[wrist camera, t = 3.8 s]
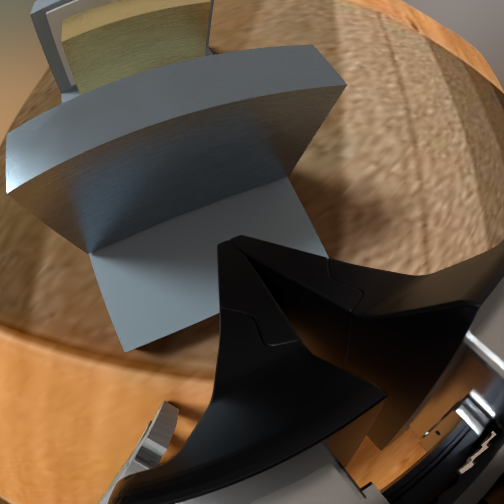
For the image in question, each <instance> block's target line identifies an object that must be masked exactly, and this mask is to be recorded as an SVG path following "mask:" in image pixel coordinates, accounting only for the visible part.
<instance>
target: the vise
mask: <svg viewBox="0 0 504 504" xmlns="http://www.w3.org/2000/svg"><path fill="white" fill-rule="evenodd" d="M114 1H117V0H38V1H36V2H35V3H34V6H33V8H32V11H31V18H32V21H33V24H34V27H35V29H36V32H37V35H38V38H39V40H40V43H41V46H42V48H43V51H44V54H45V56H46V59H47V61H48V63H49V66H50V68H51V71H52V73H53V75H54V78H55V80H56V82H57V85H58V87H59V89H60V91H61V93H62V103H64V102H66V101H69V100H71V99H73V98H75V97H77V96H80V93H79V90H78V88H77V85H76V82H75V80H74V77H73V74H72V72H71V69H70V66H69V63H68V61H67V58H66V55H65V52H64V49H63V46H62V43H61V37H62V22H63V20H64V19H67V18H69V17H71V16H74V15H76V14H79V13H82V12H84V11H87V10H90V9H92V8H95V7H98V6H101V5H104V4H107V3H111V2H114ZM210 1H211V6H210V14H209V23H208V31H207V41H206V51H205V56H210V55H213V53H212V52H211V50H210V49H209V47H208V44H209V35H210V27H211V19H212V11H213V4H214V0H210ZM239 235H245V236H248V237H252V238H256V239H260V240H264V241H267V242H271V243H275V244H279V245H283V246H286V247H290V248H294V249H298V250H301V251H305V252H309V253H312V254H316V255H320V256H324V257H327V258H329V257H328V255H327V253H326V251H325V249H324V247H323V245H322V243H321V241H320V239H319V237H318V235H317V233H316V231H315V229H314V227H313V225H312V223H311V221H310V219H309V217H308V215H307V213H306V211H305V209H304V207H303V205H302V203H301V201H300V200H299V198H298V196H297V194H296V192H295V190H294V188H293V186H292V185H291V183H290V181H289V179H288V177H285V178H282V179H278V180H275V181H272V182H269V183H267V184H264V185H261V186H258V187H255V188H252V189H249V190H246V191H243V192H240V193H238V194H235V195H232V196H229V197H226V198H224V199H221V200H218V201H216V202H213V203H210V204H207V205H205V206H202V207H200V208H197V209H194V210H192V211H189V212H186V213H184V214H181V215H179V216H176V217H174V218H171V219H169V220H166V221H164V222H161V223H159V224H156V225H154V226H151V227H149V228H147V229H144V230H142V231H139V232H137V233H135V234H132V235H130V236H128V237H125V238H123V239H121V240H118V241H116V242H114V243H111V244H109V245H107V246H105V247H102V248H100V249H98V250H96V251H94V252H91V253H89V256H90V259H91V262H92V266H93V269H94V272H95V275H96V278H97V281H98V284H99V287H100V290H101V293H102V296H103V299H104V301H105V304H106V307H107V310H108V312H109V315H110V317H111V320H112V322H113V325H114V327H115V330H116V332H117V335H118V337H119V340H120V342H121V344H122V347H123V349H124V351H125V352H128V351H130V350H133V349H135V348H138V347H140V346H143V345H145V344H147V343H150V342H152V341H155V340H157V339H160V338H162V337H164V336H167V335H169V334H172V333H174V332H176V331H179V330H181V329H183V328H186V327H188V326H190V325H193V324H195V323H197V322H200V321H202V320H204V319H206V318H209V317H211V316H213V315H216V314H218V313H219V310H220V309H219V289H218V265H217V244H219V243H221V242H224V241H226V240H229V241H230V239H231V238H234V237H236V236H239Z"/></svg>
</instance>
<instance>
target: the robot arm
mask: <svg viewBox="0 0 504 504" xmlns="http://www.w3.org/2000/svg"><path fill="white" fill-rule="evenodd" d="M217 265H218V289H219V309H220V310H219V313H220V337H219V349H218V357H217V365H216V373H215V381H214V388H213V393H212V398H211V401H210V404H209V406H208V408H207V409H206V411H205V413H204V414H203V416H202V417H201V419H200V421H199V422H198V424H197V425H196V427H195V429H194V430H193V432H192V433H191V435H190V436H189V438H188V439H187V441H186V443H185V444H184V446H183V447H182V448H181V450H180V451H179V452H178V453H177V454H176V455H175V456H174V457H173V458H171V459H170V460H168V461H167V462H165V463H163V464H162V465H159V466H157V467H154V468H151V469H147V470H144V471H140V472H136V473H133V474H130V475H128V476H125V477H123V478H122V479H120V480H119V481H118V482H117V483H116V485H115V487H114V489H113V491H112V493H111V495H110V498H109V501H108V504H504V239H503V240H502V242H501V243H500V244H498V245H497V246H495V247H494V248H492V249H490V250H488V251H486V252H484V253H482V254H480V255H477V256H475V257H472V258H470V259H468V260H465V261H463V262H460V263H458V264H455V265H453V266H450V267H448V268H445V269H443V270H440V271H437V272H435V273H432V274H428V275H421V276H414V275H407V274H401V273H396V272H390V271H385V270H380V269H374V268H369V267H364V266H359V265H355V264H351V263H347V262H342V261H339V260H335V259H331V258H327V257H324V256H320V255H316V254H312V253H309V252H305V251H301V250H298V249H294V248H290V247H286V246H283V245H279V244H275V243H271V242H267V241H264V240H260V239H256V238H252V237H248V236H245V235H239V236H236V237H234V238H231V239H230V241H229V240H226V241H224V242H221V243H219V244H217ZM409 428H410V429H411V430H412V431H413V432H414V434H415V435H416V436H417V437H418V438H419V439H420V440H421V441H420V442H419V443H420V445H421V446H422V447H423V448H424V449H425V451H426V452H427V453H426V454H425V455H424V456H422V457H421V458H420V459H419V460H418V461H417V462H416V463H414V464H413V465H412V466H411V467H410V468H409V469H407V470H406V471H405V472H404V473H402V474H401V475H400V476H399V477H397V478H396V479H395V480H394V481H392V482H391V483H390V484H388V485H387V486H386V487H384V488H383V489H382V490H380V491H379V490H378V489H377V488H376V486H375V485H374V484H373V483H372V482H369V483H368V484H366V485H365V486H363V487H361V488H359V486H358V485H357V484H356V482H355V481H354V480H353V479H352V477H351V476H350V475H349V473H348V472H347V471H346V469H345V467H346V466H347V464H348V463H349V461H350V460H351V458H352V457H353V455H354V454H355V452H356V451H357V449H358V447H359V446H360V444H361V443H362V441H363V440H364V438H365V436H366V435H367V436H368V437H369V438H370V439H371V440H372V441H373V443H374V444H375V445H376V446H377V447H378V448H379V449H380V450H383V449H384V448H385V447H387V446H388V445H389V444H391V443H392V442H393V441H394V440H396V439H397V438H398V437H399V436H401V435H402V434H403V433H404V432H405V431H407V430H408V429H409ZM492 431H494V432H495V433H496V434H497V435H496V436H494V437H493V438H492V439H491V440H490V441H489V442H488V444H487V446H488V448H487V449H486V450H485V451H484V452H482V453H481V454H480V455H479V456H477V457H476V458H475V459H474V460H473V463H474V466H472V467H471V468H470V469H468V470H467V471H465V472H464V473H462V474H461V473H460V471H459V470H460V469H461V468H462V467H464V466H465V465H467V464H468V463H469V462H470V461H471V456H473V455H474V454H475V453H477V452H478V451H479V450H480V449H481V448H482V446H481V445H482V444H483V443H484V442H485V441H486V440H488V439H489V438H490V437H491V435H492V434H491V432H492Z"/></svg>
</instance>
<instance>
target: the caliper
mask: <svg viewBox="0 0 504 504" xmlns="http://www.w3.org/2000/svg"><path fill="white" fill-rule="evenodd" d="M178 414H179V409H178V408H176V407H174V406H173V405H171V404H169V403H168V402H166V401H164V402H163V403H162V404H161V406H160V408H159V410H158V412H157V414H156V416H155V418H154V420H153V421H150V423H149V424H148V426H147V427H146V429H145V431H144V433H143V434H142V436H141V438H140V440H139V442H138V443H137V445H136V447H135V449H134V450H133V452H132V454H131V456H130V457H129V459H128V460H127V462H126V463H125V464H124V465H123V467H122V468H121V470H120V471H119V473H118V474H117V475H116V477H115V478H114V480H113V481H112V483H111V485H110V487H109V488H108V490H107V491H106V493H105V494H104V496H103V497H102V498H101V500H100V501H99V503H98V504H108V501H109V498H110V495H111V493H112V491H113V489H114V487H115V485H116V483H117V482H118V481H119V480H120V479H122V478H123V477H125V476H128V475H130V474H133V473H136V472H140V471H144V470H147V469H151V468H154V467H157V466H158V465H159V462H160V460H161V457H162V456H163V454H164V453H165V452H166V450H167V449H168V446H169V443H170V441H171V438H172V435H173V433H174V430H175V427H176V424H177V419H178Z"/></svg>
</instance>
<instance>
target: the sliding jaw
mask: <svg viewBox="0 0 504 504" xmlns="http://www.w3.org/2000/svg"><path fill="white" fill-rule="evenodd" d="M346 86H347V84H346V83H345V81H344V80H343V79H342V78H341V77H340V75H339V74H338V73H337V72H336V71H335V69H334V68H333V67H332V66H331V65H330V64H329V62H328V61H327V60H326V59H325V58H324V57H323V56H322V54H321V53H320V52H319V51H318V50H317V49H316V48H315V47H314V46H313V45H297V46H280V47H267V48H257V49H249V50H241V51H234V52H227V53H221V54H216V55H210V56H205V57H200V58H195V59H190V60H186V61H182V62H178V63H174V64H170V65H166V66H162V67H158V68H155V69H151V70H148V71H145V72H141V73H138V74H135V75H132V76H129V77H126V78H123V79H120V80H117V81H115V82H112V83H109V84H107V85H104V86H101V87H99V88H96V89H94V90H91V91H89V92H87V93H84V94H82V95H80V96H77V97H75V98H73V99H71V100H69V101H66V102H64V103H62V104H60V105H58V106H56V107H54V108H52V109H50V110H48V111H46V112H44V113H42V114H40V115H39V116H37V117H35V118H33V119H31V120H30V121H28V122H26V123H24V124H23V125H21V126H19V127H18V128H16V129H14V130H13V131H11V132H9V133H8V134H7V142H6V191H7V194H8V195H9V196H10V197H11V198H13V199H14V200H15V201H16V202H18V203H19V204H20V205H21V206H23V207H24V208H25V209H26V210H28V211H29V212H30V213H32V214H33V215H34V216H36V217H37V218H38V219H39V220H41V221H42V222H43V223H45V224H46V225H48V226H49V227H50V228H52V229H53V230H54V231H56V232H57V233H58V234H60V235H61V236H63V237H64V238H65V239H67V240H68V241H70V242H71V243H73V244H74V245H75V246H77V247H78V248H80V249H81V250H83V251H84V252H86V253H87V254H89V253H91V252H94V251H96V250H98V249H100V248H102V247H105V246H107V245H109V244H111V243H114V242H116V241H118V240H121V239H123V238H125V237H128V236H130V235H132V234H135V233H137V232H139V231H142V230H144V229H147V228H149V227H151V226H154V225H156V224H159V223H161V222H164V221H166V220H169V219H171V218H174V217H176V216H179V215H181V214H184V213H186V212H189V211H192V210H194V209H197V208H200V207H202V206H205V205H207V204H210V203H213V202H216V201H218V200H221V199H224V198H226V197H229V196H232V195H235V194H238V193H240V192H243V191H246V190H249V189H252V188H255V187H258V186H261V185H264V184H267V183H269V182H272V181H275V180H278V179H282V178H285V177H288V176H289V175H290V173H291V172H292V170H293V169H294V167H295V166H296V164H297V162H298V161H299V159H300V158H301V156H302V154H303V153H304V151H305V150H306V148H307V147H308V145H309V143H310V142H311V140H312V139H313V137H314V136H315V134H316V132H317V131H318V129H319V128H320V126H321V125H322V123H323V121H324V120H325V118H326V117H327V115H328V114H329V112H330V111H331V109H332V107H333V106H334V104H335V103H336V101H337V100H338V98H339V97H340V95H341V93H342V92H343V90H344V89H345V87H346Z"/></svg>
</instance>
